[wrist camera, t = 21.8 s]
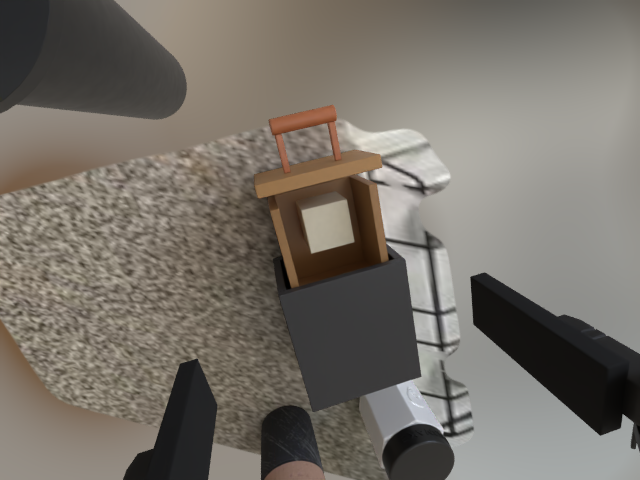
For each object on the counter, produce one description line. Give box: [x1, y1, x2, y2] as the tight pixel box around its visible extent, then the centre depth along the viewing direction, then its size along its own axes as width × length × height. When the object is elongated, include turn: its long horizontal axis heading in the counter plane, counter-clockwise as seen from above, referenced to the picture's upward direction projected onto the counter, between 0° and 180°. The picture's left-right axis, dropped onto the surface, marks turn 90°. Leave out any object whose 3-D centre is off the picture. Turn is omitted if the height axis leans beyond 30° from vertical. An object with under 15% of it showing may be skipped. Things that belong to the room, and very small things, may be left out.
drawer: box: [254, 105, 389, 289], centre depth 34 cm, size 18×11×8 cm, turn 13°
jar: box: [359, 380, 454, 480], centre depth 44 cm, size 9×8×12 cm
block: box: [296, 191, 354, 254], centre depth 35 cm, size 5×5×5 cm
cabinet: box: [273, 244, 421, 412], centre depth 39 cm, size 15×13×10 cm
